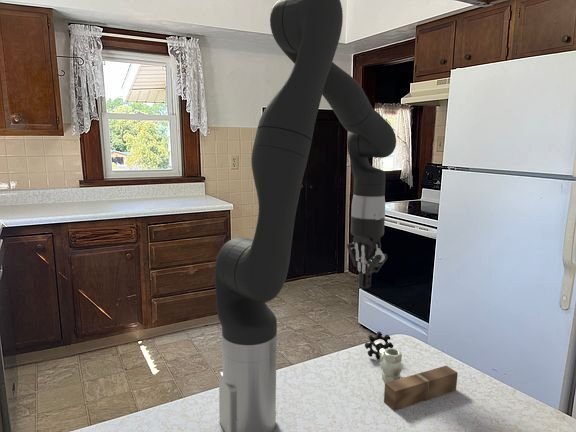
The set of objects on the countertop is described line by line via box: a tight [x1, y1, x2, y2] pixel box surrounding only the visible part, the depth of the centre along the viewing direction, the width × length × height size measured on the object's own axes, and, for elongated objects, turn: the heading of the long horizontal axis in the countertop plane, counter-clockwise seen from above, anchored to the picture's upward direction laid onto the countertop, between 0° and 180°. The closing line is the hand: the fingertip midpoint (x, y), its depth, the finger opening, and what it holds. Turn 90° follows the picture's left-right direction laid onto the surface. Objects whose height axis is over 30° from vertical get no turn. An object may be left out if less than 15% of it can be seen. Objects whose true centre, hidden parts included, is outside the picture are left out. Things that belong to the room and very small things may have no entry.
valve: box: [364, 331, 403, 384], centre depth 92 cm, size 7×7×12 cm
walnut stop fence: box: [383, 365, 459, 412], centre depth 83 cm, size 16×3×4 cm, turn 116°
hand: (364, 287), depth 98 cm, fingers closed
